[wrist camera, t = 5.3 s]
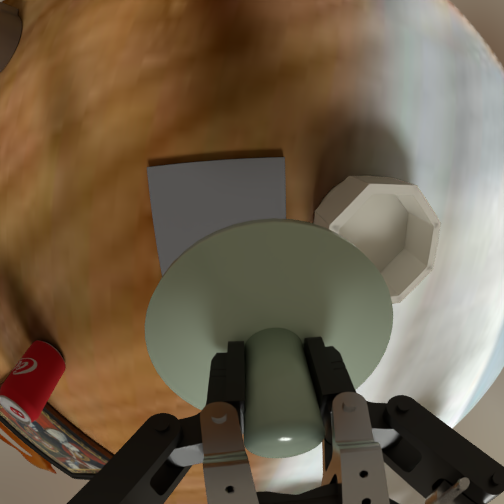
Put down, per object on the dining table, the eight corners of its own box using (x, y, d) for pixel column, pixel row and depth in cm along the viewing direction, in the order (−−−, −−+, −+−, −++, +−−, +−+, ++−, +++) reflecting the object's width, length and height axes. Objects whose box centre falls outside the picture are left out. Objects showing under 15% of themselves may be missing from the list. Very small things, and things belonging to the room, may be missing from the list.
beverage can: (31, 331, 31) (-11, 385, 20) (65, 346, 32) (26, 408, 20) (38, 361, 33) (3, 413, 22) (69, 375, 34) (39, 434, 23)
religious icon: (155, 470, 46) (153, 480, 43) (86, 478, 53) (84, 485, 50) (6, 356, 34) (-1, 365, 31) (-18, 396, 41) (-23, 403, 38)
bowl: (312, 174, 25) (330, 183, 20) (413, 177, 25) (444, 187, 20) (310, 282, 29) (323, 311, 24) (401, 274, 29) (425, 298, 24)
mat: (148, 166, 24) (146, 167, 24) (283, 157, 24) (284, 157, 24) (169, 303, 29) (168, 306, 29) (284, 298, 29) (285, 301, 29)
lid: (130, 224, 12) (53, 291, 6) (402, 218, 12) (491, 273, 6) (174, 410, 16) (159, 489, 10) (360, 400, 16) (387, 473, 11)
